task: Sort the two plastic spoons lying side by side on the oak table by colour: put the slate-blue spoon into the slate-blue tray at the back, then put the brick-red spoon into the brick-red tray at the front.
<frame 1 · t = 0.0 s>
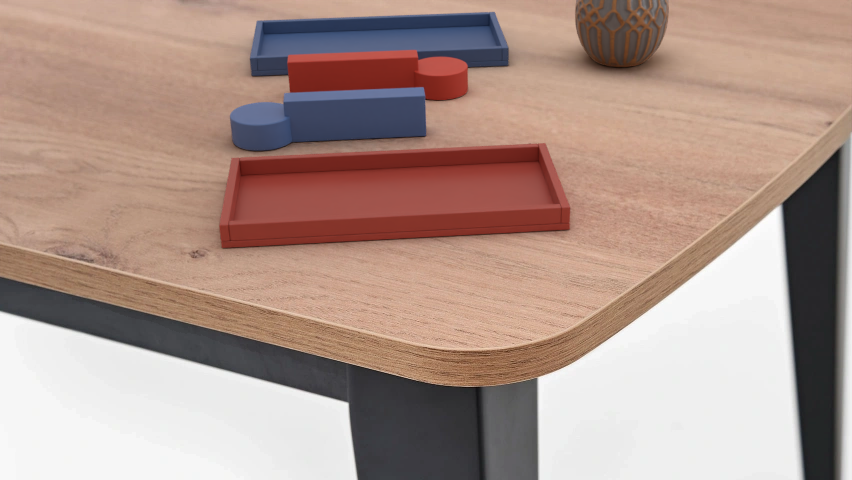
blue tray: (379, 51, 94), on the table
red spoon: (355, 93, 86), on the table
blue spoon: (356, 134, 79), on the table
vase: (619, 61, 92), on the table
red tray: (394, 203, 70), on the table
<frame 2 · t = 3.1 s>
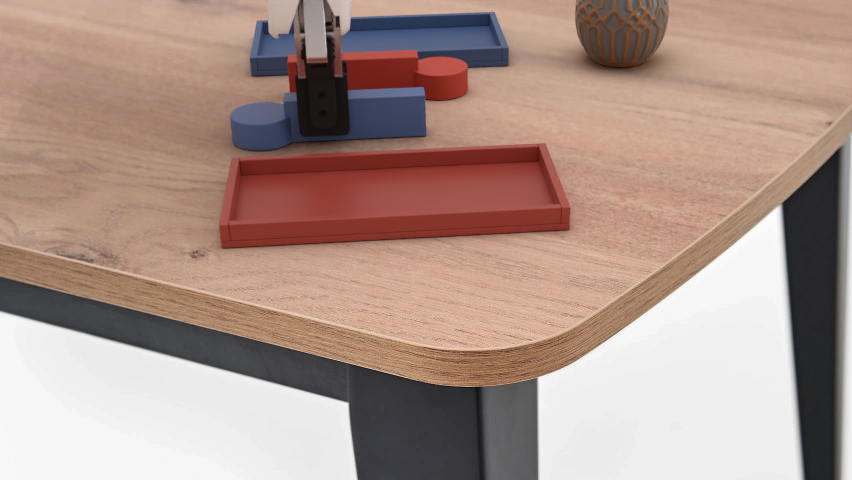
hand: (325, 125, 78), 1 cm above the table, tool pointing down, fingers closed on blue spoon
blue spoon: (356, 134, 79), on the table, touching gripper
everything else where it was.
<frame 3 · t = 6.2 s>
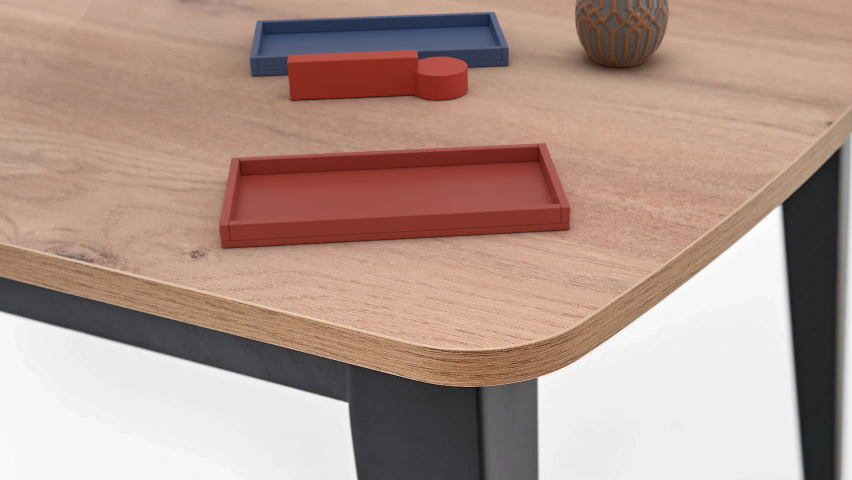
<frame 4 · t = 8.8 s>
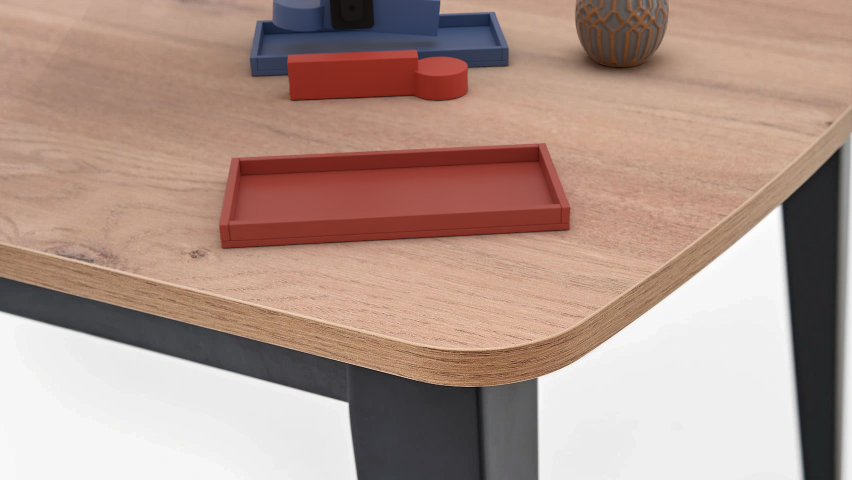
hand: (352, 21, 92), 2 cm above the table, tool pointing down, fingers closed on blue spoon
blue spoon: (378, 29, 93), point 2 cm above the table, tilted 6°, touching gripper
everything else where it was.
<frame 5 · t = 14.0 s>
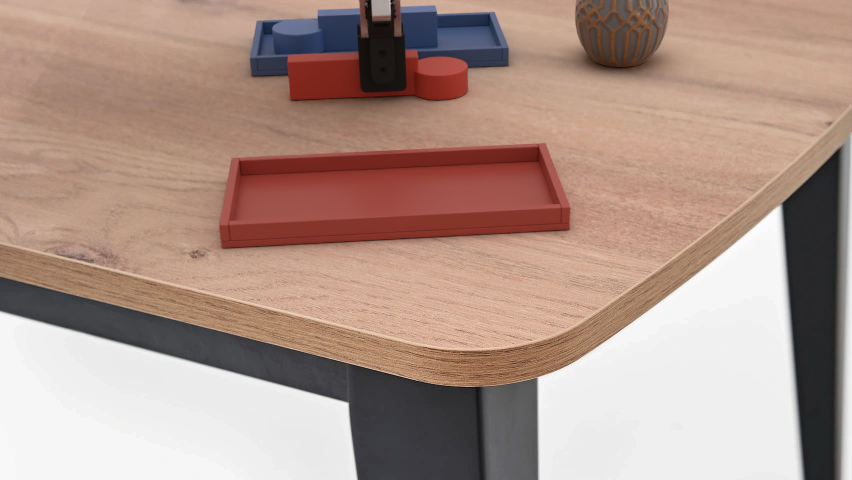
hand: (383, 82, 85), 1 cm above the table, tool pointing down, fingers closed on red spoon
red spoon: (355, 93, 86), on the table, touching gripper
blue spoon: (378, 45, 93), resting on blue tray
everything else where it was.
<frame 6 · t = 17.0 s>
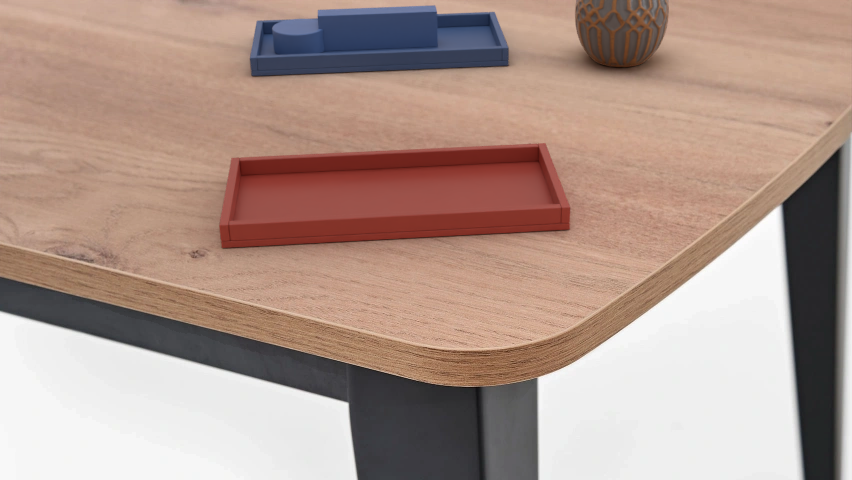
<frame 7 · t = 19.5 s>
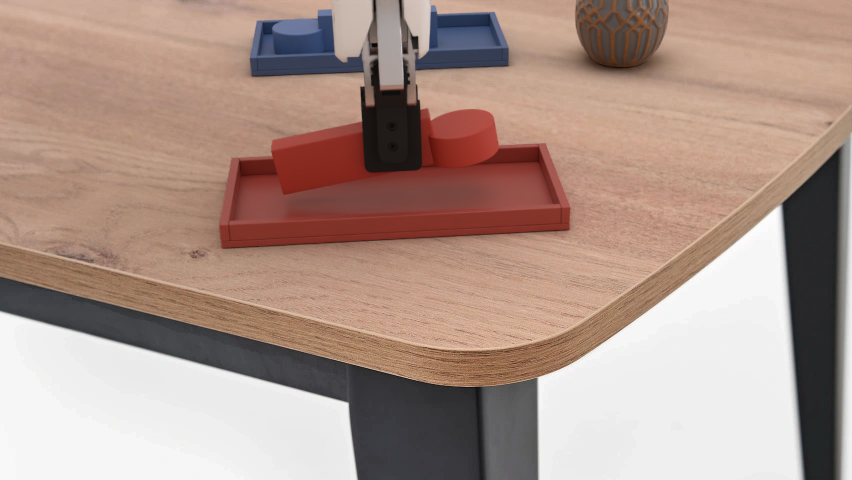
hand: (392, 158, 69), 3 cm above the table, tool pointing down, fingers closed on red spoon
red spoon: (361, 173, 69), point 2 cm above the table, tilted 10°, touching gripper
everything else where it was.
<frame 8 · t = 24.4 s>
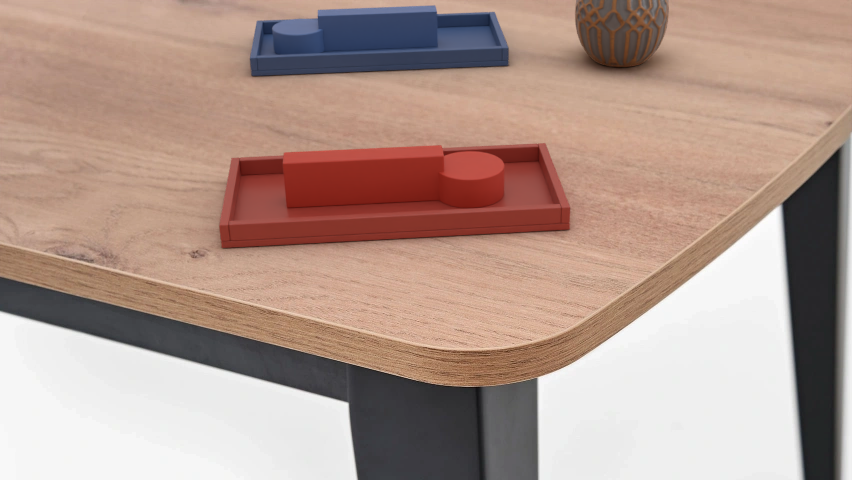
red spoon: (366, 198, 70), resting on red tray
everything else where it was.
at the end: blue spoon inside the target area on the blue tray (0.0 cm from its centre), point 0.4 cm above the blue tray's base; red spoon inside the target area on the red tray (1.6 cm from its centre), point 0.4 cm above the red tray's base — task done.
